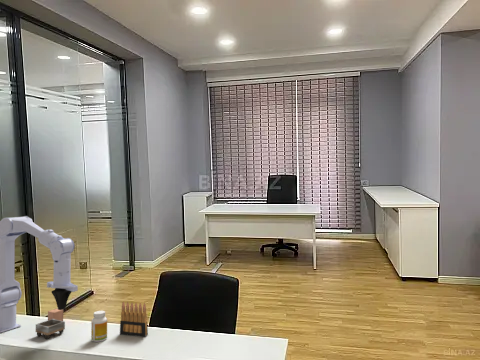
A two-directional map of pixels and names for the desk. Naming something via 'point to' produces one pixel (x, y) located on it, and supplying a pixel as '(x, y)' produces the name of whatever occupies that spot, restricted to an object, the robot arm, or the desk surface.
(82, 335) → the desk surface
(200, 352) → the desk surface
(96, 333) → the supplement bottle
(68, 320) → the desk surface
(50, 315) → the block
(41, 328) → the cart
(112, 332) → the desk surface
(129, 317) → the ammunition clip
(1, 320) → the robot arm
